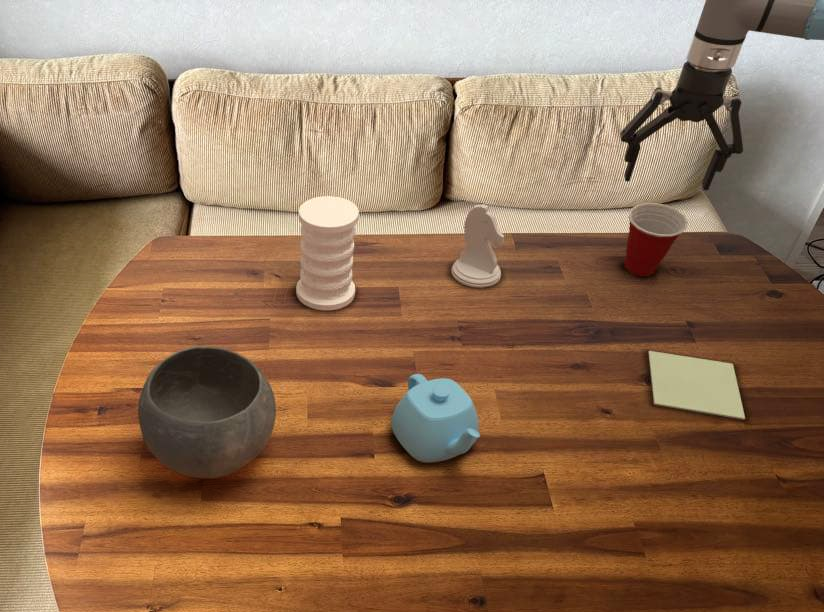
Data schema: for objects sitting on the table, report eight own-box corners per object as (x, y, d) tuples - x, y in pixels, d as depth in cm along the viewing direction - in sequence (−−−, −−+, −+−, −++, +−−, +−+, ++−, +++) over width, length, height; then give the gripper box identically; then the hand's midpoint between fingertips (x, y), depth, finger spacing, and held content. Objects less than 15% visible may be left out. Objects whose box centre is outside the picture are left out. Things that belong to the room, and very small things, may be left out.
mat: (732, 365, 135) (732, 363, 135) (744, 420, 126) (745, 418, 125) (648, 352, 138) (648, 350, 138) (653, 404, 128) (654, 403, 128)
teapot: (443, 447, 107) (378, 370, 119) (433, 496, 115) (373, 418, 126) (517, 420, 111) (447, 347, 123) (502, 469, 118) (438, 396, 130)
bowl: (212, 526, 111) (204, 456, 100) (118, 457, 121) (102, 387, 110) (302, 447, 122) (303, 377, 111) (210, 390, 131) (203, 320, 121)
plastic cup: (612, 280, 154) (631, 228, 145) (609, 251, 161) (627, 199, 153) (670, 287, 152) (692, 235, 143) (664, 258, 159) (685, 206, 151)
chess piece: (486, 293, 151) (501, 226, 140) (442, 276, 155) (453, 210, 145) (508, 270, 156) (524, 204, 146) (465, 254, 161) (477, 189, 150)
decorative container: (346, 315, 146) (351, 232, 134) (288, 304, 149) (288, 222, 136) (361, 281, 154) (367, 200, 142) (305, 271, 157) (307, 191, 144)
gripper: (631, 66, 127) (595, 183, 142) (795, 80, 122) (741, 200, 137) (628, 49, 132) (594, 165, 147) (786, 63, 128) (735, 180, 142)
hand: (665, 182), depth 142 cm, fingers open, 13 cm apart
